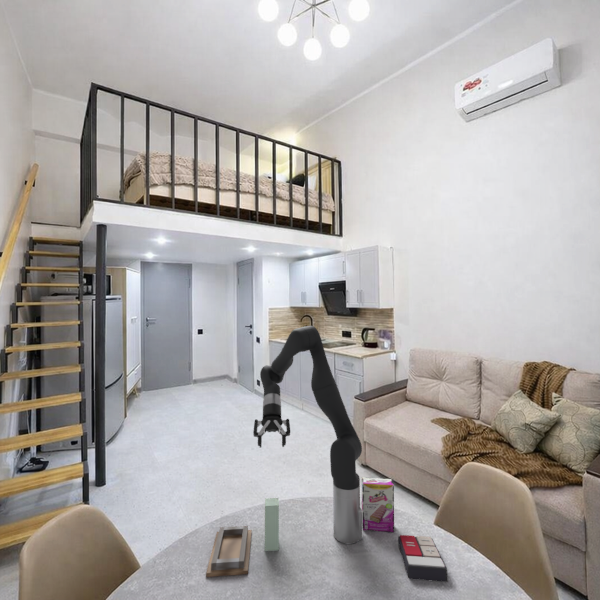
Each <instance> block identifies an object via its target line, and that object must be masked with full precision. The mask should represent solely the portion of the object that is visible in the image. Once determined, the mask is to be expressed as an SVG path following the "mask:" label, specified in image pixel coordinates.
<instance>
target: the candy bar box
mask: <svg viewBox="0 0 600 600" xmlns="http://www.w3.org/2000/svg"><path fill="white" fill-rule="evenodd" d="M361 510H362V531H370V532H384V533H395V484H394V482H393V479H391V478H381V477H380V478H377V477H361Z"/></svg>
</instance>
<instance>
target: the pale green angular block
mask: <svg viewBox="0 0 600 600" xmlns="http://www.w3.org/2000/svg"><path fill="white" fill-rule="evenodd" d="M279 507H280V505H279V497H275V498H274V497H273V498H271V497H270V498H265V499H264V552H275V551H279V549H280V547H279V545H280V543H279V541H280V539H279V538H280V537H279V536H280V535H279V533H280V532H279V531H280V530H279V529H280V528H279V527H280V526H279V525H280V524H279V523H280V522H279V521H280V520H279V519H280V514H279V512H280V509H279Z"/></svg>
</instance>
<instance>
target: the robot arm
mask: <svg viewBox="0 0 600 600" xmlns="http://www.w3.org/2000/svg"><path fill="white" fill-rule="evenodd" d="M307 351H309V353H310V355H311V359H312V373H311V379H310V381H311V383H310V384H311V390H312V393H313V395H314V398H315V401H316V403H317V405H318V407H319V409H320V410H321V412H323V414H324V415H325V416H326V417H327V419H328V420H329V422H330V423H331V425H332V428H333V430H334V433H335V436H336V439H335V440H334V441H333V442H332V444H331V445H330V448H329V449H330V453H329V457H330V458H329V460H330V461H329V463H330V476H331V477H332V492H333V493H332V495H333V497H332V498H333V500H332V501H333V509H332V510H333V514H332V515H333V537H334V538H335V540H337V541H338V542H340V543H341V544H348V545H349V544H351V545H352V544H355V543H357V542H359V541H363V527H362V507H361V485H360V484H361V481H360V475H359V474H358V473H357V467H356V461H357V460H358V459H359V458H360V456H361V454H362V452H363V448H362V441H361V440H360V438H359V435H358V433H357V432H356V429H355V428H354V426H353V424H352V423H353V422H351V419H350V417H349V415H348V412H347V409H346V406H345V404H344V402H343V400H342V396H341V393H340V390H339V388H338V385H337V382H336V380H335V378H334V375H333V373H332V369H331V367H330V364H329V361H328V359H327V355H326V352H325V348H324V345H323V340H322V337H321V334H320V332H319V330H318V329H317V327H315V326H313V325H307V326H302V327H298V328H294V329H293V330H292V331H291V332H290V333H289V334H288V337H287V339H286V341H285V343H284V345H283V346H282V349H281V351H280V353H278V355H277V356H276V357H275V358H274V360H273V361H272V363H271V365H264V366H262V368H261V370H260V371H259V372H260V380H261V381H260V382H261V384H262V389H263V401H262V419H261V420H258V419H254V423H253V430H252V431H253V437H255V438H257V446H258V447H259V448H262V443H263V442H262V438H263V436H264V435H265V434H266V432H267V433H271V432H273V433H276V432H277V433H279V434H280V436H281V446H282V448H284V447H285V446H286V444H287V437H289V436H290V435H291V425H290V419H289V418H286V419H284V420H283V419H282V401H281V388H280V385H279V384H280V383H282V382H283V381H284V376H285V375H286V372H287V371H288V370H289V369H290V368H291V366H292V365H293V363H294V356H296V355H297V354H299V353H301V352H302V353H304V352H307ZM260 425H261V426H262V427H261V429H260V430H259V432H258V428H260ZM282 425H284V426H285V427H286V431H285V430H284V428H283V426H282Z"/></svg>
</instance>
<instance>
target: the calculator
mask: <svg viewBox="0 0 600 600" xmlns="http://www.w3.org/2000/svg"><path fill="white" fill-rule="evenodd" d="M397 537H398V538H397V539H398V540H397V541H398V548H399V552H400V555H401V558H402V562H403V563H404V565H403V566H404V569H405V572H406V576H407V578H408V579H409V580H419V581H429V580H432V581H431V582H442V583H444V582H445V583H447V582H448V568H447V566H446V563H445V562H444V559H443V557H442V556H441V553H440V551H439V549H438V547H437V545H436V544H435V542H434V539H433V538H432V537H431V536H421V535H417V536H414V535H407V534H400V535H398V536H397Z"/></svg>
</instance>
